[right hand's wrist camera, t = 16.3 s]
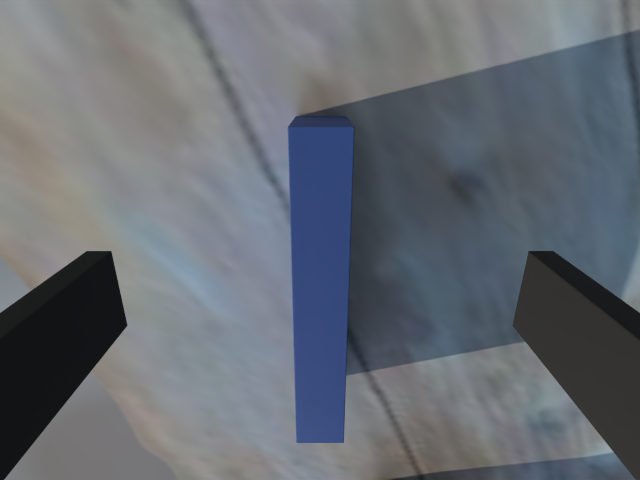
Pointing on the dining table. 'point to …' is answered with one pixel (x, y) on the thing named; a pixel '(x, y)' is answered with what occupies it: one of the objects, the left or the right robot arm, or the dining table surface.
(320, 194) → the bar
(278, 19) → the dining table surface
